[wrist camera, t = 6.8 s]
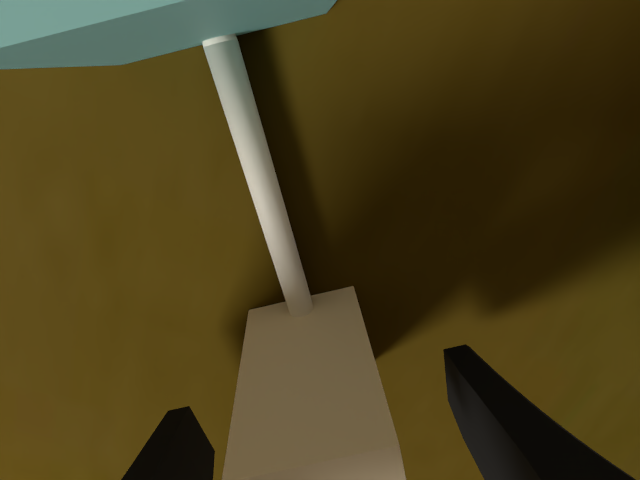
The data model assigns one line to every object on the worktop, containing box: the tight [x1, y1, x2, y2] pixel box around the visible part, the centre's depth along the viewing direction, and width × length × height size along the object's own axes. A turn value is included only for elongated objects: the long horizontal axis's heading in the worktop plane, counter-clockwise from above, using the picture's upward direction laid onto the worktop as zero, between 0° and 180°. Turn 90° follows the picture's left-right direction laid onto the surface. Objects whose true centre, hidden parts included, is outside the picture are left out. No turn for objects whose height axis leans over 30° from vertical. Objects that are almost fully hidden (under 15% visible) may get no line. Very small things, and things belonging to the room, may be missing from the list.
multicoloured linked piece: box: [0, 0, 406, 480], centre depth 7 cm, size 15×4×5 cm, turn 12°
